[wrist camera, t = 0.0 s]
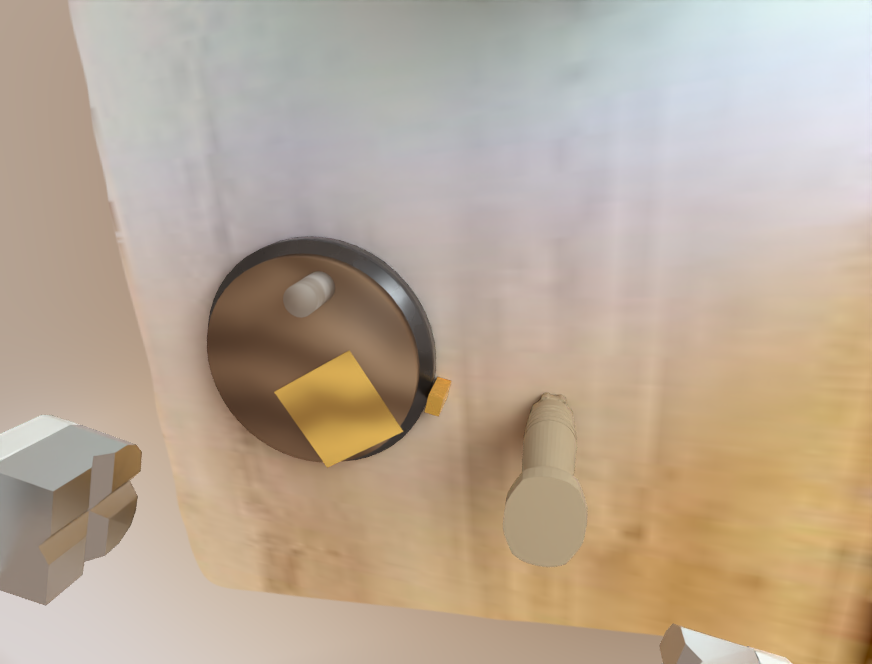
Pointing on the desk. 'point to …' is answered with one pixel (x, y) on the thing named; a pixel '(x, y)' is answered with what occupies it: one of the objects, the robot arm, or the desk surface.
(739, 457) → the desk surface
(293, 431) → the disc
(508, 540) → the handle
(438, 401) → the wheel base
